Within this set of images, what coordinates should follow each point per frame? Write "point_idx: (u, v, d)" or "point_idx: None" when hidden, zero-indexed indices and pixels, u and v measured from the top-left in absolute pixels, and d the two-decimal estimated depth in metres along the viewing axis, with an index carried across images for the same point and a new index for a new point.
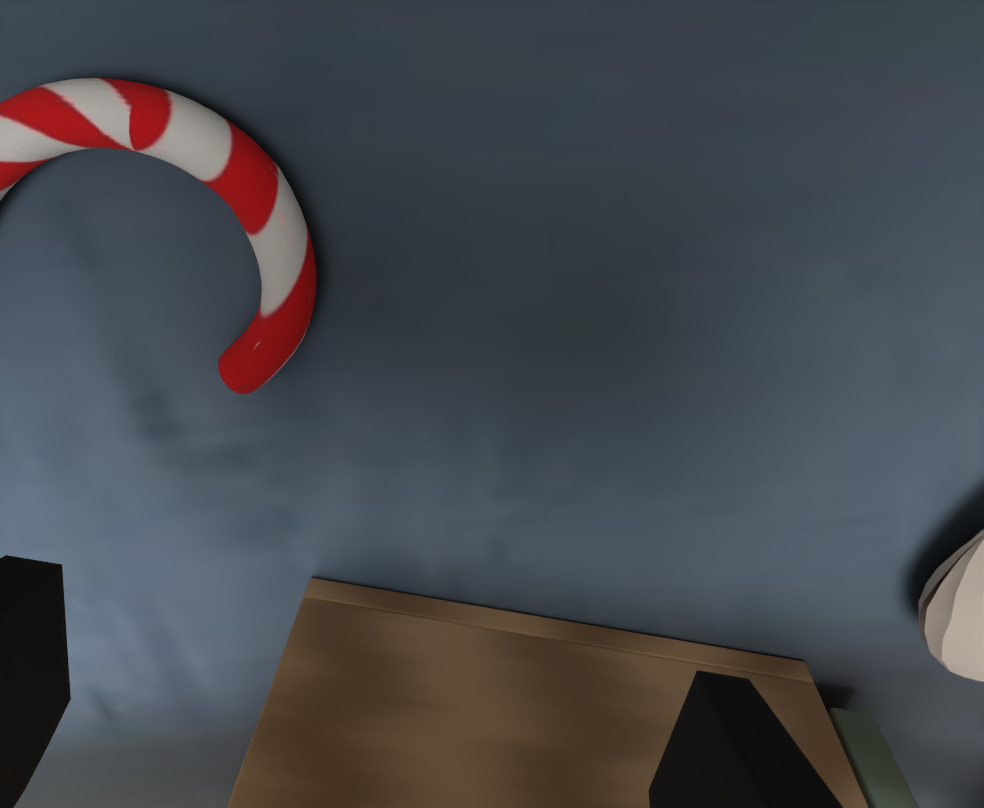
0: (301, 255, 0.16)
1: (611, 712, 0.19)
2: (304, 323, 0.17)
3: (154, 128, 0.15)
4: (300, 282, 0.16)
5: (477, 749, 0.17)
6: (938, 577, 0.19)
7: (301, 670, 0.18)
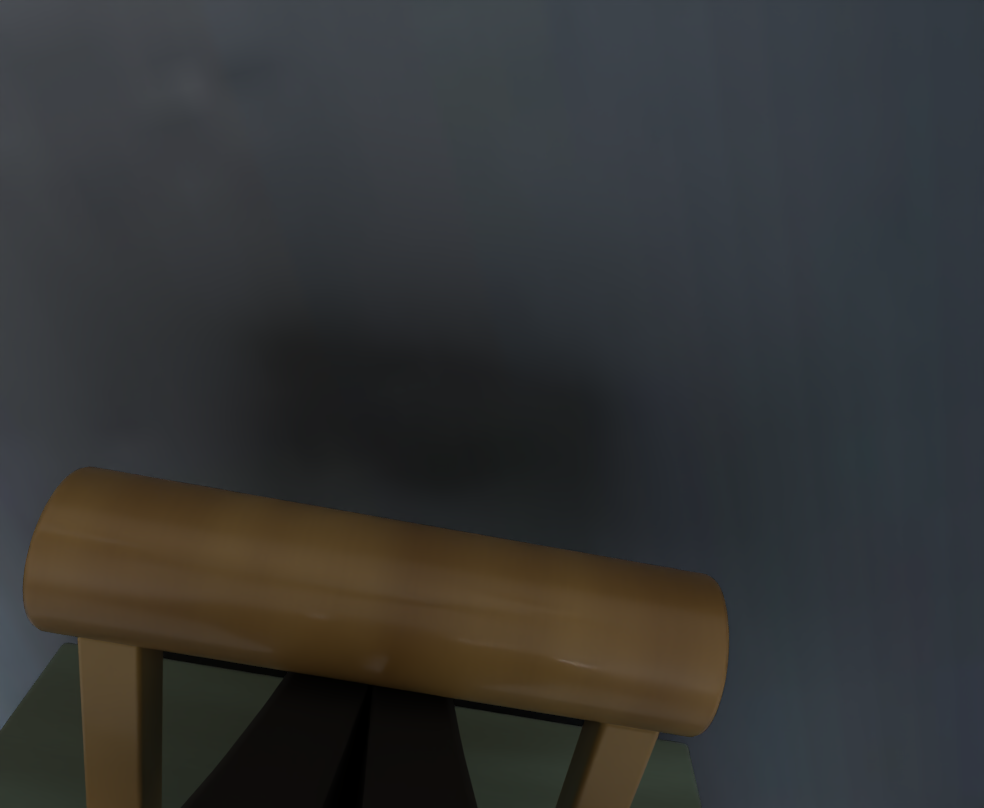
0: None
1: None
2: None
3: None
4: None
5: None
6: None
7: None
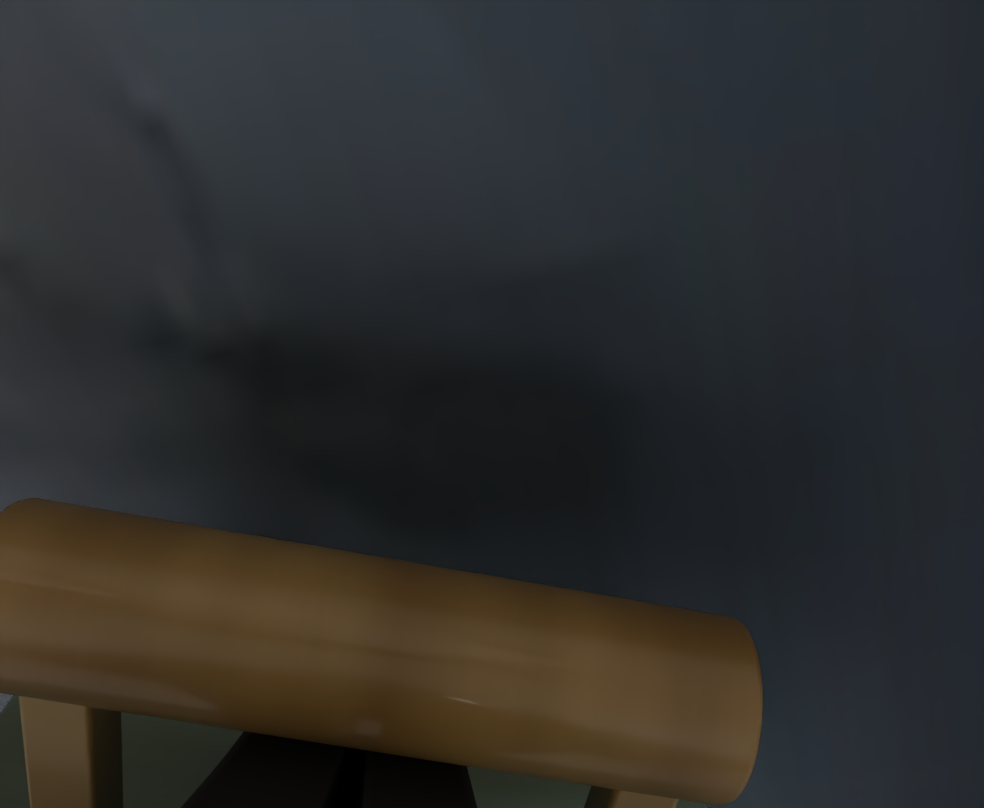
0: None
1: None
2: None
3: None
4: None
5: None
6: None
7: None
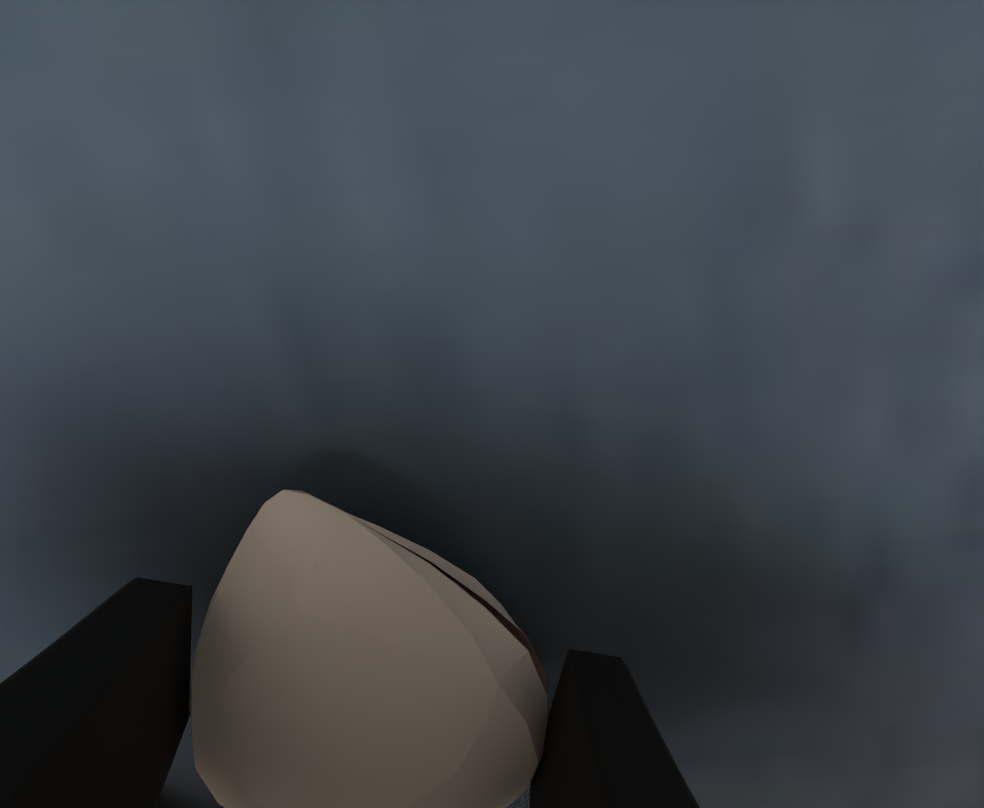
0: None
1: None
2: None
3: None
4: None
5: None
6: None
7: None
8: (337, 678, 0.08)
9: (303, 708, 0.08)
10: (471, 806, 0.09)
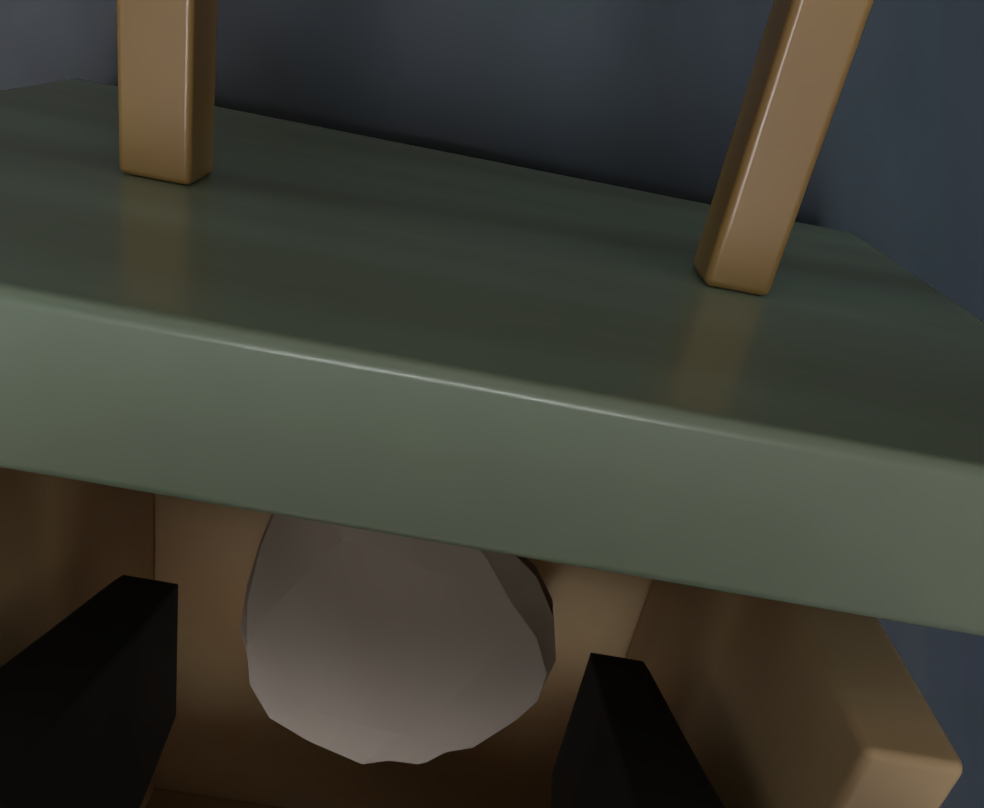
0: None
1: None
2: None
3: None
4: None
5: None
6: None
7: None
8: (374, 596, 0.10)
9: (344, 623, 0.10)
10: (489, 710, 0.10)
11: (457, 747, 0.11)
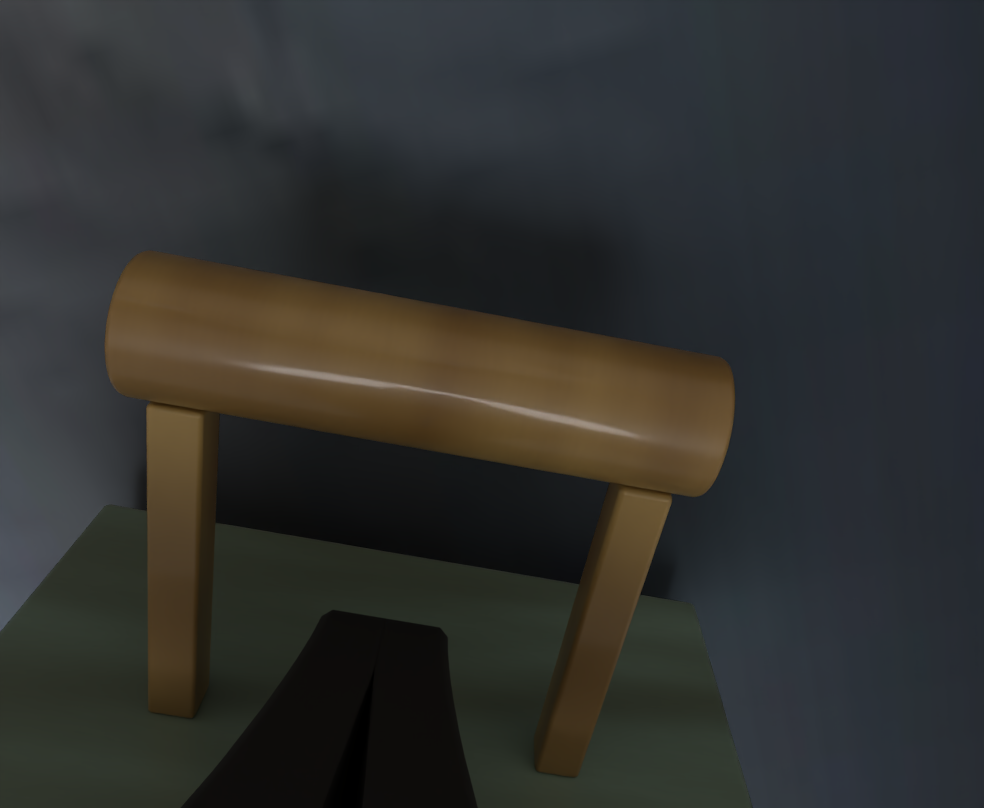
0: None
1: None
2: None
3: None
4: None
5: None
6: None
7: None
8: None
9: None
10: None
11: None
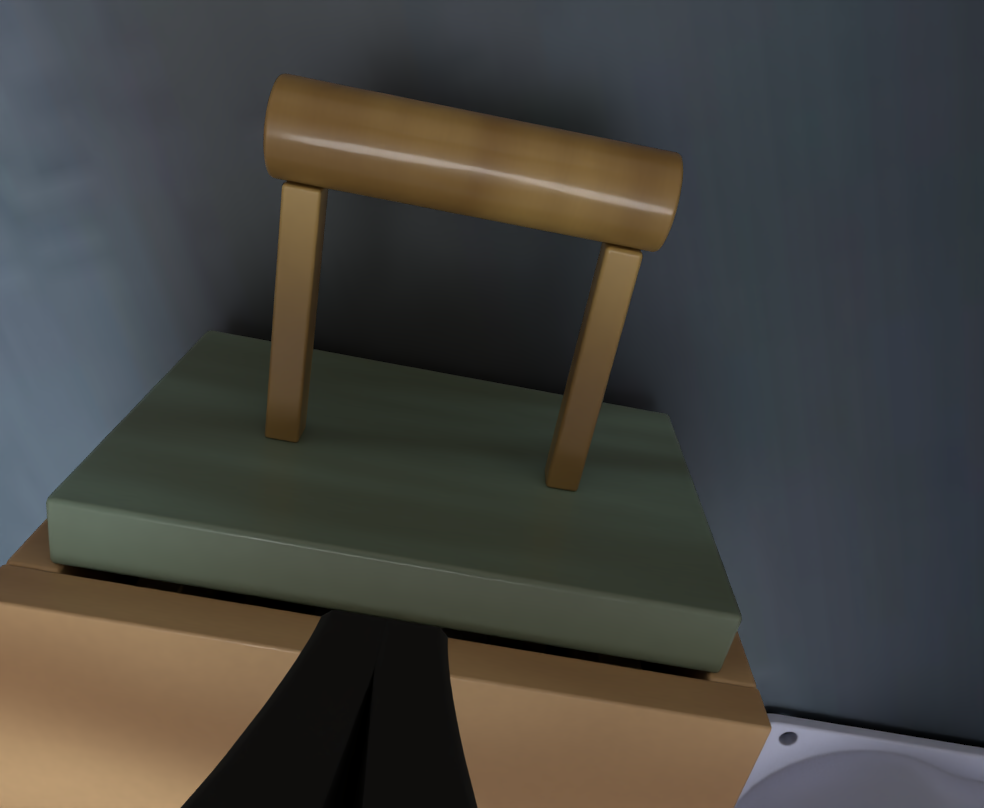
0: None
1: None
2: None
3: None
4: None
5: None
6: None
7: None
8: None
9: None
10: None
11: None
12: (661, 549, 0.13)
